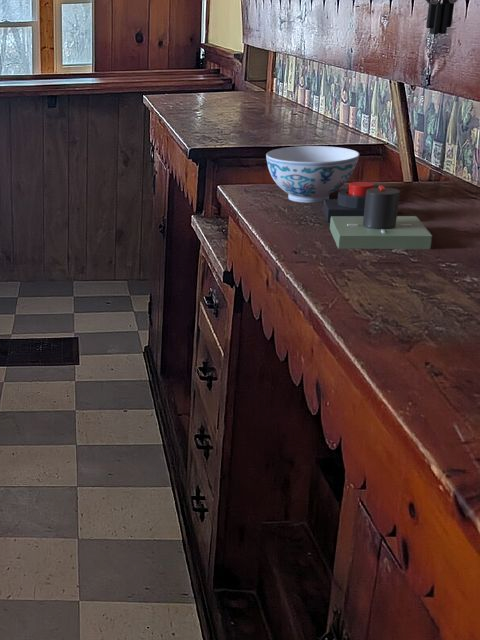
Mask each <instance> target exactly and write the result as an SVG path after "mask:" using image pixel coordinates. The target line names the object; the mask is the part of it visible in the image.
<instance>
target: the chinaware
mask: <svg viewBox="0 0 480 640" xmlns="http://www.w3.org/2000/svg"><path fill="white" fill-rule="evenodd" d="M265 158H266V164H267V168H268V172H269V174H270V176H271V178H272V179H273V181H274V183H275V184H276V186H277V187H279V188H280V189H281V190H282V191H284V192H285V193H287V194H288V195H287V198H288V200H290V201H292V202H295V203H305V204H306V203H310V204H311V203H322V202H323V203H324V199H330V195H331V194H333V193H335V192H337V191H338V190H339V189H341V188H342V187H343V186H344V185H345V184H347V182H348V181H349V180H350V178H351V177H352V175H353V173H354V171H355V168H356V167H357V165H358V161H359V158H360V152H358V151H357V150H354V149H352V148H351V149H350V148H345V147H339V146H327V145H326V146H325V145H300V146H289V147H281V148H276V149H272V150H270V151H267V153H266V154H265Z"/></svg>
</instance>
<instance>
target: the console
mask: <svg viewBox="0 0 480 640" xmlns="http://www.w3.org/2000/svg"><path fill="white" fill-rule="evenodd" d="M363 217H364V216H331V220H330V223H329V230H330V233H331V235H332V238H333V241H334V242H335V244H336V247H337V250H341V249H342V250H431V248H432V240H433V235H432V234H431V232H430V231H429V230H428V229H427V227H426V226H425V225H424V224H423V223H422V221H421V220H420V219H419V218H418V216H416V215H397V219H396V226H395V227H393V228H389V229H374V228H368V227H365V226H363Z"/></svg>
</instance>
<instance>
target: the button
mask: <svg viewBox="0 0 480 640" xmlns="http://www.w3.org/2000/svg"><path fill="white" fill-rule="evenodd" d="M371 188H375V184H374V183H373V182H370V181H352V182H350V183H349V184H348V189H349V193H348V194H350V195H357V196H366V190H368V189H371Z"/></svg>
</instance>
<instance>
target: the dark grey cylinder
mask: <svg viewBox="0 0 480 640" xmlns="http://www.w3.org/2000/svg"><path fill="white" fill-rule="evenodd" d="M400 195H401V191H400V190H399V189H397V188H392V187H385V186H384V185H381V184H380V185H378V187H374V188H371V189H368V190H366V198H365V207H364V217H363V226H365V227H368V228H374V229H389V228H393V227H395V226H396V219H397V216H398V210H399V202H400Z"/></svg>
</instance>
